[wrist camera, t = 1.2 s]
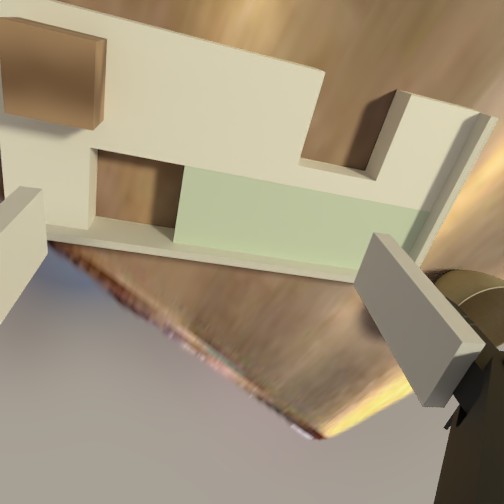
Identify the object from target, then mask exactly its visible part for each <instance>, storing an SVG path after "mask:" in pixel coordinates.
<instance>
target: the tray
mask: <svg viewBox="0 0 504 504" xmlns="http://www.w3.org/2000/svg"><path fill="white" fill-rule="evenodd" d="M0 17H21V18H25V19H29V20H33V21H37V22H41V23H45V24H49V25H53V26H57V27H61V28H65V29H69V30H73V31H77V32H81V33H85V34H89V35H93V36H98V37H102V38H106V39H107V53H106V76H105V100H104V120H103V121H102V122H101V123H100V124H99V125H98V126H97V127H96V128H95V129H94V130H93V131H92V130H87V129H82V128H77V127H72V126H67V125H62V124H57V123H52V122H46V121H41V120H36V119H31V118H26V117H21V116H16V115H11V114H6V113H4V103H3V90H2V78H1V65H0V150H1V161H2V172H3V184H4V195H5V199H6V198H7V197H8V196H9V195H10V194H11V193H13V192H14V191H15V190H16V189H17V188H18V187H19V186H24V187H31V188H39V189H43V199H44V212H45V224H46V237H47V240H51V241H58V242H65V243H72V244H80V245H87V246H94V247H101V248H108V249H115V250H122V251H129V252H137V253H144V254H151V255H158V256H165V257H172V258H179V259H186V260H194V261H201V262H208V263H215V264H222V265H229V266H236V267H243V268H250V269H258V270H265V271H272V272H279V273H286V274H293V275H300V276H307V277H315V278H322V279H329V280H336V281H343V282H350V283H354V281H355V278H356V276H357V273H358V271H359V268H360V265H361V263H362V260H363V258H364V255H365V253H366V250H367V248H368V245H369V242H370V240H371V237H372V235H373V232H377V233H385V234H390V235H391V236H392V237H393V238H394V239H395V241H396V242H397V243H398V244H399V245H400V246H401V247H402V249H403V250H404V251H405V252H406V253H407V254H408V255H409V257H410V258H411V259H412V260H413V261H414V262H415V263H416V265H417V266H418V267H420V266H421V264H422V262H423V260H424V258H425V256H426V254H427V252H428V251H429V249H430V247H431V245H432V243H433V241H434V239H435V237H436V236H437V234H438V232H439V230H440V228H441V226H442V224H443V222H444V220H445V219H446V217H447V215H448V213H449V211H450V209H451V207H452V205H453V204H454V202H455V200H456V198H457V196H458V194H459V192H460V190H461V189H462V187H463V185H464V183H465V181H466V179H467V177H468V175H469V174H470V172H471V170H472V168H473V166H474V164H475V162H476V160H477V159H478V157H479V155H480V153H481V151H482V149H483V147H484V145H485V143H486V142H487V140H488V138H489V136H490V134H491V132H492V130H493V128H494V127H495V125H496V123H497V121H498V119H499V118H497V117H494V116H491V115H488V114H485V113H483V112H480V111H477V110H474V109H471V108H468V107H464V106H460V105H456V104H452V103H448V102H444V101H441V100H437V99H433V98H429V97H425V96H421V95H418V94H414V93H410V92H406V91H402V90H398V89H397V91H396V93H395V96H394V98H393V101H392V103H391V106H390V108H389V111H388V114H387V116H386V119H385V121H384V124H383V126H382V129H381V131H380V134H379V137H378V139H377V142H376V144H375V147H374V149H373V152H372V154H371V157H370V159H369V162H368V165H367V167H366V170H365V171H363V170H358V169H353V168H348V167H344V166H339V165H334V164H329V163H324V162H319V161H315V160H310V159H305V158H300V155H301V152H302V149H303V145H304V142H305V139H306V135H307V132H308V129H309V125H310V122H311V119H312V115H313V112H314V109H315V105H316V102H317V99H318V95H319V92H320V89H321V85H322V82H323V79H324V75H325V72H324V71H322V70H319V69H317V68H314V67H310V66H306V65H302V64H298V63H295V62H291V61H287V60H283V59H279V58H275V57H272V56H268V55H264V54H260V53H256V52H252V51H248V50H245V49H241V48H237V47H233V46H229V45H225V44H222V43H218V42H214V41H210V40H206V39H202V38H198V37H195V36H191V35H187V34H183V33H179V32H175V31H172V30H168V29H164V28H160V27H156V26H152V25H149V24H145V23H141V22H137V21H133V20H129V19H125V18H122V17H118V16H114V15H110V14H106V13H102V12H99V11H95V10H91V9H87V8H83V7H79V6H76V5H72V4H68V3H64V2H60V1H56V0H0ZM98 149H101V150H106V151H111V152H116V153H122V154H127V155H132V156H137V157H143V158H148V159H153V160H159V161H164V162H169V163H174V164H180V165H185V167H184V173H183V180H182V186H181V193H180V199H179V206H178V213H177V219H176V226H175V228H169V227H162V226H156V225H149V224H143V223H137V222H130V221H124V220H117V219H111V218H105V217H98V216H95V213H96V186H97V159H98Z"/></svg>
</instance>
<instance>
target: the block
mask: <svg viewBox="0 0 504 504" xmlns="http://www.w3.org/2000/svg"><path fill="white" fill-rule="evenodd" d="M106 53H107V39H106V38H102V37H98V36H93V35H89V34H85V33H81V32H77V31H73V30H69V29H65V28H61V27H57V26H53V25H49V24H45V23H41V22H37V21H33V20H29V19H25V18H21V17H0V65H1V78H2V90H3V103H4V113H6V114H11V115H16V116H21V117H26V118H31V119H36V120H41V121H46V122H52V123H57V124H62V125H67V126H72V127H77V128H82V129H87V130H92V131H93V130H94V129H95V128H96V127H97V126H98V125H99V124H100V123H101V122H102V121H103V120H104V100H105V76H106Z"/></svg>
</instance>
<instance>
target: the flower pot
mask: <svg viewBox="0 0 504 504" xmlns="http://www.w3.org/2000/svg"><path fill="white" fill-rule="evenodd" d="M434 285H435V286H436V287H437V289H438V290H439V291H440V292H441V293H442V294H443V295H444V297H447V298H449V299H450V300H451V301H453V302H454V303H456V304H457V305H458V306H459V307H460V308H461V309H462V310H463V311H464V312H465V313H466V314H467V316H468V318H470V319H471V320H472V321H473V322H474V323H475V326H477V327H478V328H479V329H480V330H481V331H482V332H483V333H484V334H485V336H486V337H487V338H488V339H489V340H490V341H491V342H492V343H493V344H494V346H495V347H496V348H499V347H501V346H503V345H504V280H502V279H499V278H497V277H494V276H491V275H488V274H485V273H481V272H476V271H469V270H453V271H450V272H447V273H445V274H444V275H442V276H441V277H440V278H439V279H438V280H437V281H436V282H435V284H434Z"/></svg>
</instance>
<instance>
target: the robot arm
mask: <svg viewBox="0 0 504 504" xmlns="http://www.w3.org/2000/svg"><path fill="white" fill-rule="evenodd" d="M47 254H48V250H47V237H46V224H45V212H44V199H43V189H39V188H31V187H24V186H19V187H18V188H17V189H16V190H15V191H14V192H13V193H11V194H10V195H9V196H8V197H7V198H6V199H5V200H4V201H3V202H1V203H0V324H1V323H2V321H3V320H4V318H5V317H6V315H7V314H8V312H9V311H10V309H11V308H12V306H13V305H14V303H15V302H16V300H17V299H18V297H19V296H20V294H21V293H22V291H23V290H24V288H25V287H26V285H27V284H28V282H29V281H30V279H31V278H32V276H33V275H34V273H35V272H36V270H37V269H38V267H39V266H40V264H41V263H42V261H43V260H44V258H45V257H46V255H47ZM353 285H354V287H355V289H356V290H357V292H358V294H359V296H360V297H361V299H362V301H363V303H364V304H365V306H366V308H367V310H368V311H369V313H370V315H371V317H372V318H373V320H374V322H375V324H376V325H377V327H378V329H379V331H380V332H381V334H382V336H383V338H384V340H385V341H386V343H387V345H388V347H389V348H390V350H391V352H392V354H393V355H394V357H395V359H396V361H397V362H398V364H399V366H400V368H401V369H402V371H403V373H404V375H405V376H406V378H407V380H408V382H409V383H410V385H411V387H412V389H413V390H414V392H415V394H416V395H417V397H418V399H419V401H420V403H421V405H422V406H423V407H443V408H444V407H445V405H446V404H447V402H448V401H449V399H450V398H451V396H452V395H454V396H455V398H456V399H457V401H458V402H459V404H460V405H459V406H458V407H457V409H456V410H455V412H454V413H453V415H452V416H451V418H450V419H449V421H448V422H447V423H446V425H445V427H444V428H445V429H446V430H447V429H448V428H449V427H450V426H451V429H450V433H449V438H448V443H447V447H446V451H445V456H444V460H443V465H442V469H441V473H440V478H439V482H438V487H437V491H436V496H435V501H434V504H504V351H499V350H498V349H497V348H496V347H495V346H494V344H493V343H492V342H491V341H490V340H489V339H488V338H487V337H486V336H485V334H484V333H483V332H482V331H481V330H480V329H479V328H478V327H477V326H475V323H474V322H473V321H472V320H471V319H470V318H468V316H467V314H466V313H465V312H464V311H463V310H462V309H461V308H460V307H459V306H458V305H457V304H456V303H454V302H453V301H451V300H450V299H449V298H447V297H444V295H443V294H442V293H441V292H440V291H439V290H438V289H437V287H436V286H435V285H434V284H433V283H432V282H431V281H430V279H429V278H428V277H427V276H426V275H425V274H424V273H423V271H422V270H421V269H420V268H419V267H418V266H417V265H416V263H415V262H414V261H413V260H412V259H411V258H410V257H409V255H408V254H407V253H406V252H405V251H404V250H403V249H402V247H401V246H400V245H399V244H398V243H397V242H396V241H395V239H394V238H393V237H392V236H391V235H390V234H385V233H377V232H373V235H372V237H371V240H370V242H369V245H368V248H367V250H366V253H365V255H364V258H363V260H362V263H361V265H360V268H359V271H358V273H357V276H356V278H355V281H354V283H353Z"/></svg>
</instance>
